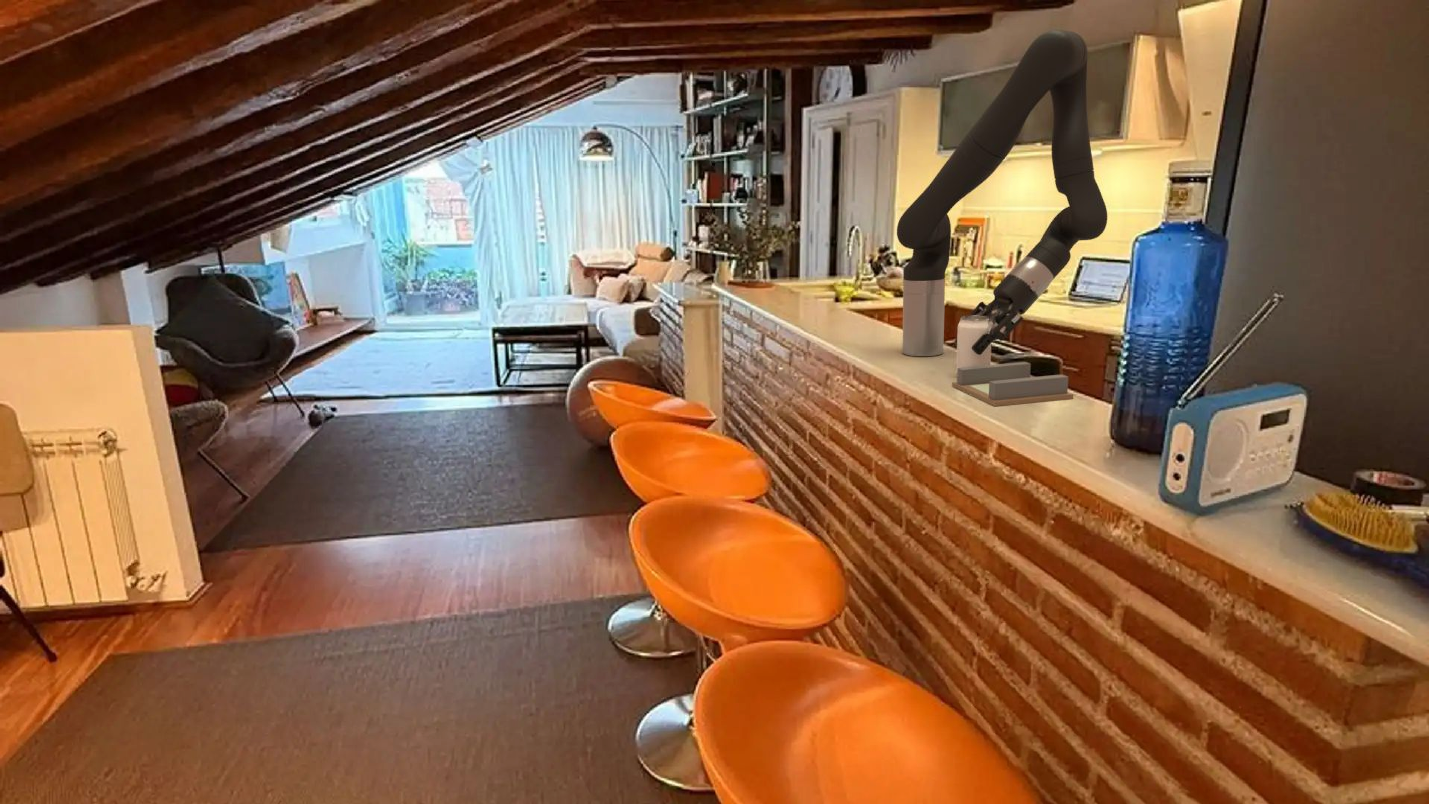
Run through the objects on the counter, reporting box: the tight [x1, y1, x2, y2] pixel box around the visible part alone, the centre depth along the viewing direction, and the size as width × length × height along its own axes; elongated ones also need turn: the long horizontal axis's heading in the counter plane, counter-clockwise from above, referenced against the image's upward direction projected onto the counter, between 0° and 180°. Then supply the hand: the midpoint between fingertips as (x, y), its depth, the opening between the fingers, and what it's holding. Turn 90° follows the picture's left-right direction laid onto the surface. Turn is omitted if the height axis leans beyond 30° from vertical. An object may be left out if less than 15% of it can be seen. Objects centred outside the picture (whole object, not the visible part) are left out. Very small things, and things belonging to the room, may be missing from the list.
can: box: [956, 315, 992, 369], centre depth 159 cm, size 6×6×12 cm
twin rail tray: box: [951, 361, 1074, 407], centre depth 146 cm, size 16×15×4 cm
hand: (966, 348), depth 159 cm, fingers open, 6 cm apart
